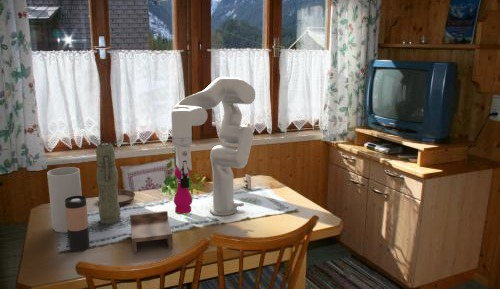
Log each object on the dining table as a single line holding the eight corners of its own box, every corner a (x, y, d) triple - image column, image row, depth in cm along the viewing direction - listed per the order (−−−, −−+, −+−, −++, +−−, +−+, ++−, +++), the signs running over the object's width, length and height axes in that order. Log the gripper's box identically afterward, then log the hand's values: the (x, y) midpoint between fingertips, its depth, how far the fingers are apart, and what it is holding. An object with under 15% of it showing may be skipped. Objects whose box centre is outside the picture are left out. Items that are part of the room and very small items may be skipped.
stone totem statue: (118, 214, 206) (112, 140, 198) (123, 223, 196) (118, 145, 188) (98, 217, 202) (91, 142, 194) (102, 226, 192) (96, 147, 184)
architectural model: (245, 190, 240) (245, 177, 239) (239, 187, 246) (239, 174, 245) (251, 189, 242) (251, 176, 240) (245, 186, 248) (245, 173, 246)
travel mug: (72, 243, 176) (68, 195, 172) (92, 243, 177) (88, 195, 172) (66, 252, 169) (61, 202, 164) (87, 251, 170) (83, 202, 165)
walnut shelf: (168, 230, 188) (167, 210, 186) (172, 248, 173) (172, 226, 170) (131, 235, 184) (130, 214, 182) (132, 253, 168) (131, 231, 166)
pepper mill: (189, 214, 174) (188, 164, 171) (171, 213, 175) (170, 163, 172) (194, 209, 181) (193, 160, 178) (177, 208, 182) (176, 160, 179)
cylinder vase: (53, 224, 195) (47, 169, 189) (83, 219, 200) (78, 165, 194) (53, 235, 184) (46, 177, 178) (85, 230, 189) (80, 173, 183)
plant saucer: (136, 205, 218) (135, 199, 217) (98, 209, 213) (97, 203, 212) (134, 193, 234) (134, 188, 234) (99, 197, 229) (98, 191, 229)
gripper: (195, 145, 166) (196, 191, 170) (188, 135, 182) (189, 178, 186) (175, 146, 164) (177, 193, 168) (169, 136, 180) (171, 179, 184)
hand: (183, 184), depth 177 cm, fingers closed on pepper mill, 5 cm apart
